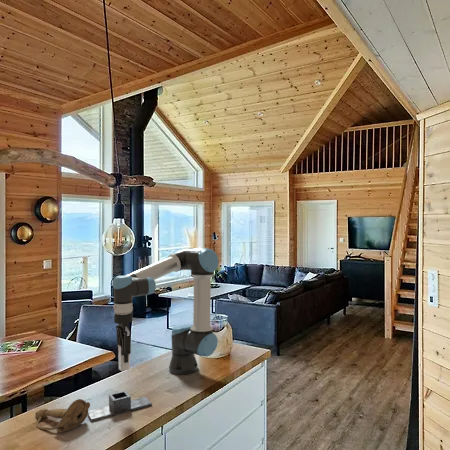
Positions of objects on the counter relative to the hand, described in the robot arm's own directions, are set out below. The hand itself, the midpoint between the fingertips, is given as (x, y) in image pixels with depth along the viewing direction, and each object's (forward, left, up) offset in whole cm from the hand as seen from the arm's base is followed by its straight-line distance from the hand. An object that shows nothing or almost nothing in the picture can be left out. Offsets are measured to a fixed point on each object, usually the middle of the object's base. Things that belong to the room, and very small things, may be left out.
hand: (123, 368), depth 171 cm
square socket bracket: (+2, 0, -17) cm, 17 cm away
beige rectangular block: (0, 0, 0) cm, 0 cm away
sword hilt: (+26, -4, -18) cm, 32 cm away
